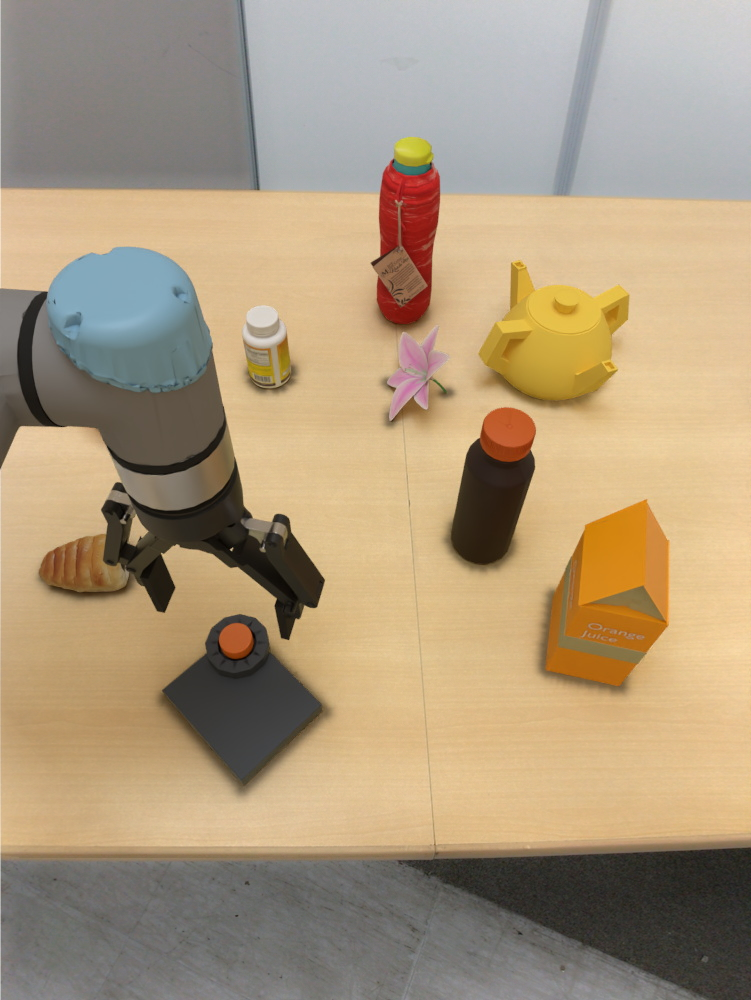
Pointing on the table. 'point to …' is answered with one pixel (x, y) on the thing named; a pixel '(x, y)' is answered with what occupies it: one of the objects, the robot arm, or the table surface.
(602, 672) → the orange juice
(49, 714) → the table surface
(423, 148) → the water bottle
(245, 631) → the button
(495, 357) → the teapot
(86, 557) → the pastry
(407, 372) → the lily
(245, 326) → the supplement bottle
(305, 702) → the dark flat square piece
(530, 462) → the vinegar
